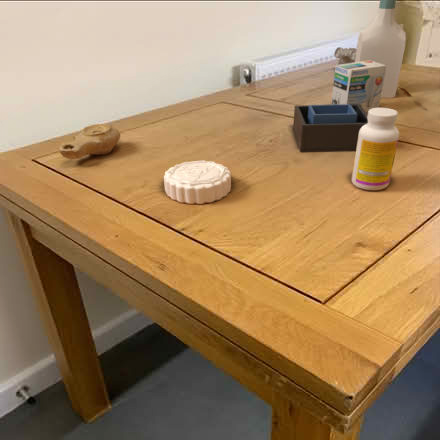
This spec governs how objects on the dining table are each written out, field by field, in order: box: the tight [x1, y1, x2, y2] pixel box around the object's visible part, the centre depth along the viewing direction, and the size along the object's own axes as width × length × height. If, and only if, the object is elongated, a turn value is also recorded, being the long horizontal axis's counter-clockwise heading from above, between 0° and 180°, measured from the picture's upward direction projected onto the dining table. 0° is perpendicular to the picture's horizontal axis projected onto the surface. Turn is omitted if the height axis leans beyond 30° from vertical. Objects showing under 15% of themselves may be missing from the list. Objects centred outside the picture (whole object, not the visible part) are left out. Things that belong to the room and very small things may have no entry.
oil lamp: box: [58, 123, 121, 160], centre depth 98 cm, size 11×14×5 cm
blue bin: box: [307, 104, 357, 124], centre depth 101 cm, size 9×7×6 cm
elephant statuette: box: [333, 46, 357, 65], centre depth 147 cm, size 9×12×8 cm
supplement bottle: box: [351, 107, 400, 191], centre depth 81 cm, size 7×7×13 cm
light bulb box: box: [330, 60, 386, 114], centre depth 116 cm, size 11×7×11 cm, turn 114°
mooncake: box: [163, 159, 232, 205], centre depth 84 cm, size 12×12×4 cm
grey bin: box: [292, 104, 368, 153], centre depth 101 cm, size 15×14×6 cm
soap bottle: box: [355, 0, 407, 99], centre depth 121 cm, size 11×8×27 cm
